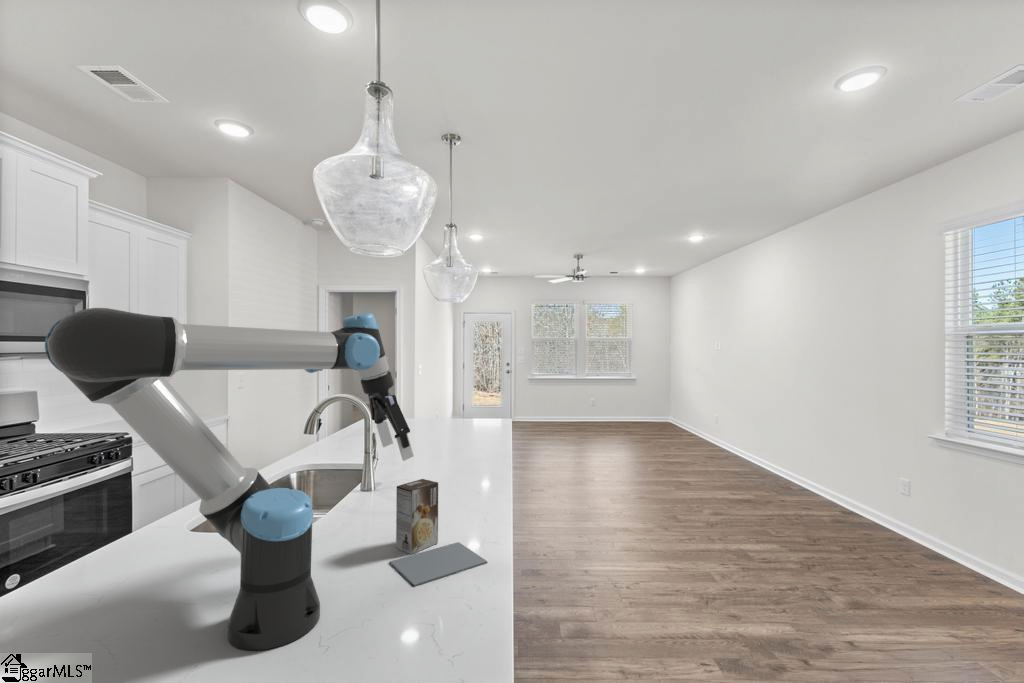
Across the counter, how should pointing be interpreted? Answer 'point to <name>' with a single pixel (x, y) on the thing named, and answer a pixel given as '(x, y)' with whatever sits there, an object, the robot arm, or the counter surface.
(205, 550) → the counter surface
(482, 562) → the mat
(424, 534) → the coffee box
